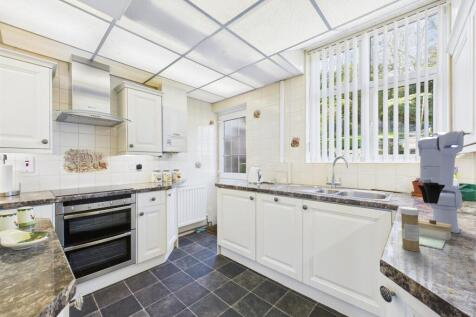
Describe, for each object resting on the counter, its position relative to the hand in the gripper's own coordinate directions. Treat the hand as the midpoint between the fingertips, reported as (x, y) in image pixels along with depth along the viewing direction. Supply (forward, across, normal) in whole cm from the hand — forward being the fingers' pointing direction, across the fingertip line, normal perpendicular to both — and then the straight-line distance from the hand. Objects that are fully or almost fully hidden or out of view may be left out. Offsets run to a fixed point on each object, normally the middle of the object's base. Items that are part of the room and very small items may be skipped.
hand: (430, 203), depth 74 cm
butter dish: (+12, -6, +2) cm, 14 cm away
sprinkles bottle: (+16, +13, -7) cm, 22 cm away
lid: (+9, -5, +2) cm, 11 cm away
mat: (+14, +3, -1) cm, 14 cm away
